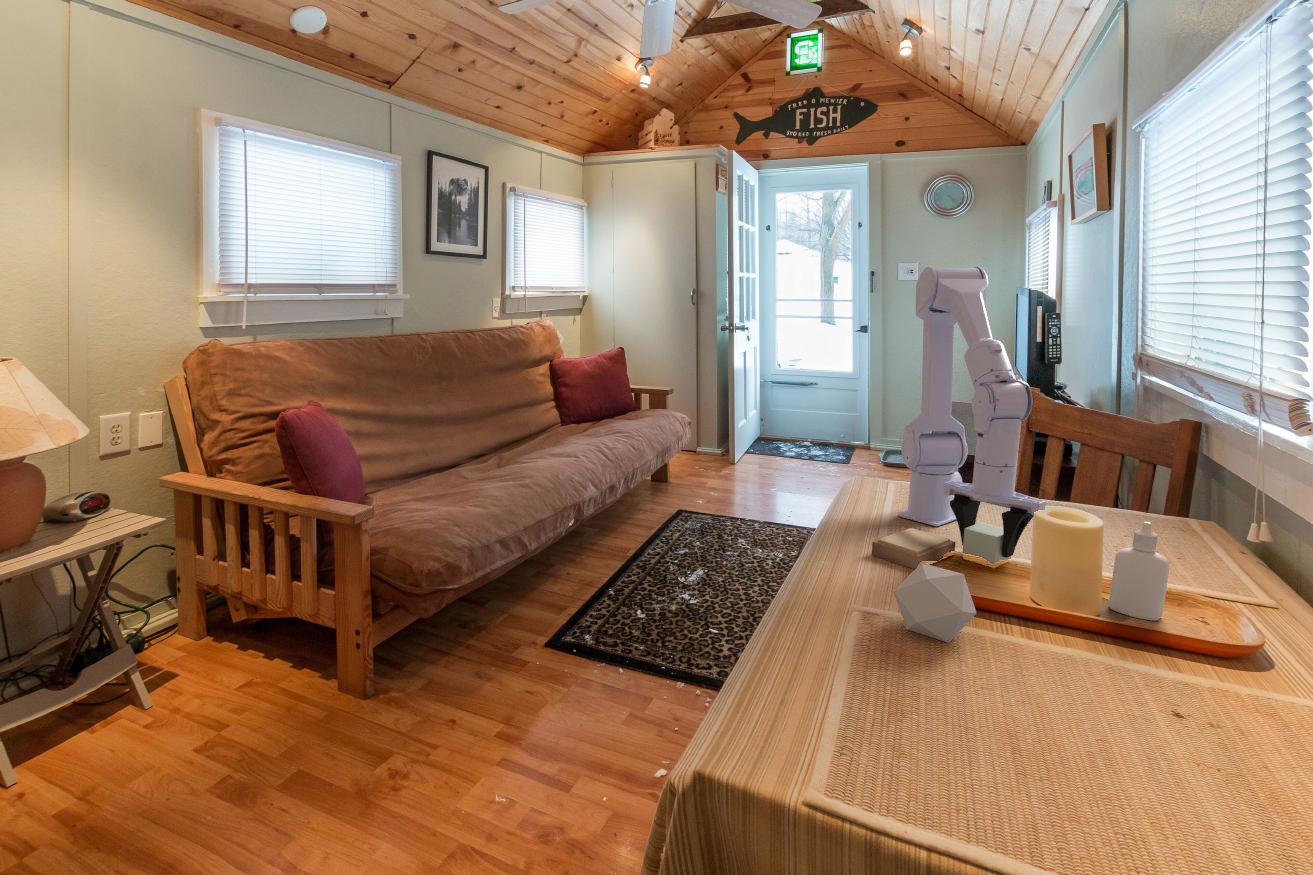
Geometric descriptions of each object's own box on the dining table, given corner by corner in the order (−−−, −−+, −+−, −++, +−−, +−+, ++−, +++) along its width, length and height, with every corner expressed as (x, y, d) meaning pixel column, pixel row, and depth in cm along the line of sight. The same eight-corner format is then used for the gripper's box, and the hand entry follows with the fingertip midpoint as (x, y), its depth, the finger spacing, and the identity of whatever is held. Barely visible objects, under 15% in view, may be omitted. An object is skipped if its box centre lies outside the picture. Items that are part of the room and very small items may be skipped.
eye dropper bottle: (1128, 601, 94) (1140, 514, 92) (1168, 620, 89) (1183, 528, 87) (1101, 605, 93) (1113, 517, 91) (1141, 624, 88) (1155, 531, 85)
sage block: (978, 552, 112) (981, 522, 112) (1010, 561, 109) (1013, 530, 108) (961, 559, 109) (964, 528, 108) (993, 569, 106) (997, 537, 105)
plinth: (908, 541, 117) (909, 526, 117) (954, 555, 111) (955, 539, 110) (871, 554, 111) (872, 539, 111) (917, 570, 105) (919, 553, 104)
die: (984, 638, 86) (956, 560, 90) (986, 631, 78) (955, 547, 82) (915, 653, 88) (890, 576, 92) (910, 648, 81) (884, 565, 85)
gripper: (935, 457, 109) (928, 542, 112) (1032, 476, 98) (1022, 570, 101) (960, 451, 113) (953, 533, 116) (1056, 468, 102) (1045, 558, 105)
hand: (987, 549), depth 109 cm, fingers open, 6 cm apart
